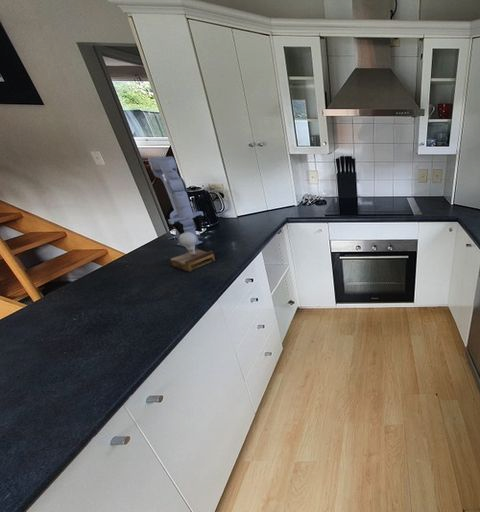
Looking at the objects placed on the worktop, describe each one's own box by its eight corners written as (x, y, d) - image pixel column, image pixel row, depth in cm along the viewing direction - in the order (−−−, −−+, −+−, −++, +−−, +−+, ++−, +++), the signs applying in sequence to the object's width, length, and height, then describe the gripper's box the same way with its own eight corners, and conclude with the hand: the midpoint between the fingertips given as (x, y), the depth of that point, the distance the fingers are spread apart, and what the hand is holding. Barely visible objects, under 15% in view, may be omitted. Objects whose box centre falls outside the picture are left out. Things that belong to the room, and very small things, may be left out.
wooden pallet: (172, 265, 122) (169, 256, 120) (199, 255, 132) (196, 246, 129) (189, 271, 117) (186, 261, 115) (215, 260, 127) (212, 251, 125)
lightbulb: (189, 252, 127) (182, 230, 122) (204, 251, 127) (197, 229, 122) (181, 258, 121) (173, 235, 116) (196, 257, 122) (189, 235, 117)
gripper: (171, 211, 115) (181, 240, 121) (204, 203, 127) (211, 230, 133) (161, 209, 118) (171, 238, 124) (194, 201, 130) (202, 228, 136)
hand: (191, 234), depth 129 cm, fingers open, 7 cm apart
